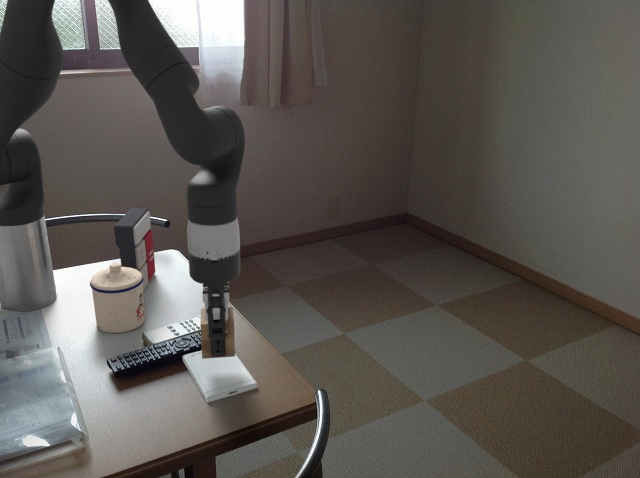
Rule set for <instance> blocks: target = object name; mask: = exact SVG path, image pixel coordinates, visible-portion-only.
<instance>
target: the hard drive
mask: <svg viewBox="0 0 640 478" xmlns="http://www.w3.org/2000/svg"><path fill="white" fill-rule="evenodd" d="M182 362H183V364H184V365H185V367H186V369H187V371H188V372H189V374H190V376H191V377H192V379H193V381H194V382H195V385H196V386H197V388H198V389H199V391H200V393H201V395H202V396H203V398H204V400H205V401H206V403H211V402H214V401H218V400H221V399H224V398H228V397H230V396H231V397H232V396H235V395H238V394H241V393H245V392H248V391H252V390H255V389H258V383H257V381H256V380H255V378H254V377H253V376H252V374H251V373H250V372H249V369H247V367H246V366H245V365H244V364H243V361H241V359H240V358H239V357H238V355H237V354H236V353H235V357H221V358H206V359H202V350H199V351H195V352H190V353H187V354H184V355H182Z"/></svg>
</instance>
